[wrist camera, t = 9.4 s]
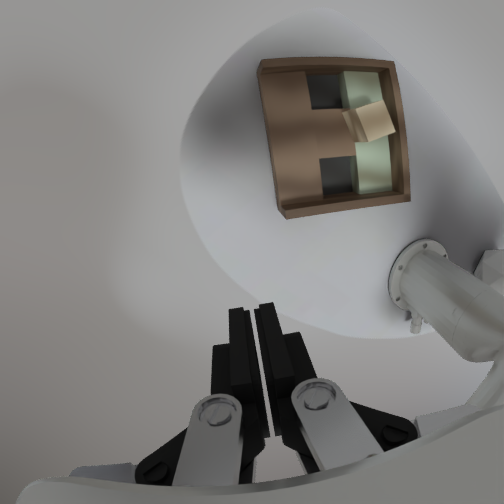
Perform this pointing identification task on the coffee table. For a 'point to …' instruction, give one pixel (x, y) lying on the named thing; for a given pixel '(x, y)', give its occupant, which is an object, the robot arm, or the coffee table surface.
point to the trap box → (331, 134)
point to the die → (492, 269)
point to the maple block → (369, 122)
